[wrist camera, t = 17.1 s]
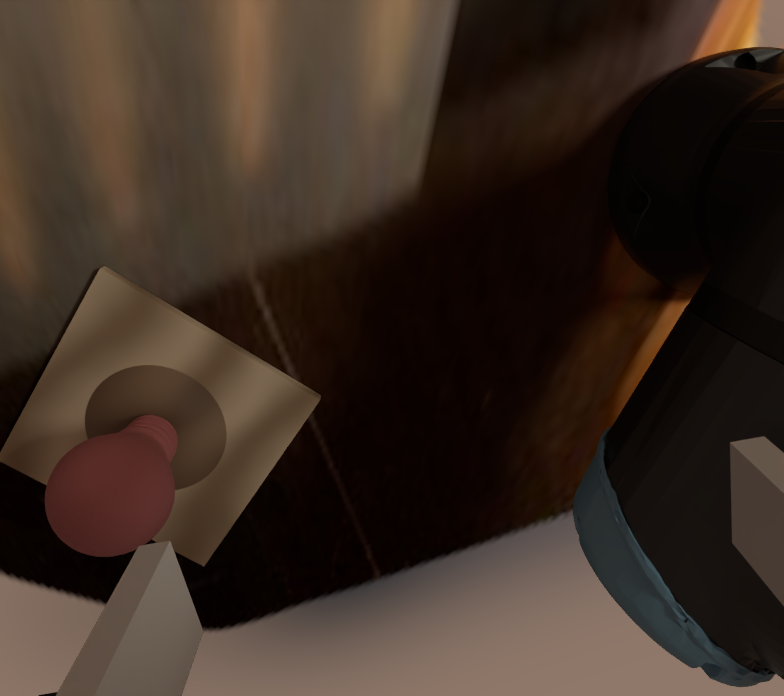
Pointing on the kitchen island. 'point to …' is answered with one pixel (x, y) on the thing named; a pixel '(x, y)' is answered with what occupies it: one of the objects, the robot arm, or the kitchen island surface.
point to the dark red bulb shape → (114, 489)
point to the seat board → (163, 406)
